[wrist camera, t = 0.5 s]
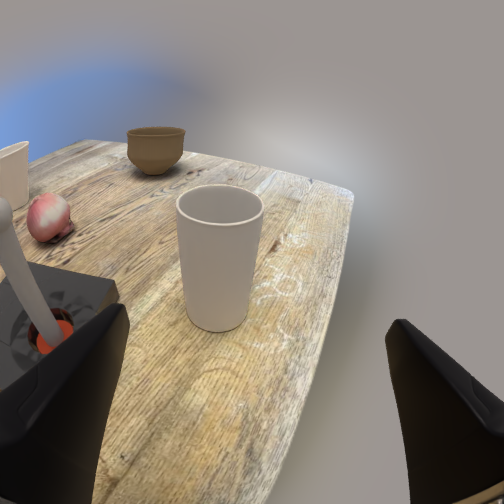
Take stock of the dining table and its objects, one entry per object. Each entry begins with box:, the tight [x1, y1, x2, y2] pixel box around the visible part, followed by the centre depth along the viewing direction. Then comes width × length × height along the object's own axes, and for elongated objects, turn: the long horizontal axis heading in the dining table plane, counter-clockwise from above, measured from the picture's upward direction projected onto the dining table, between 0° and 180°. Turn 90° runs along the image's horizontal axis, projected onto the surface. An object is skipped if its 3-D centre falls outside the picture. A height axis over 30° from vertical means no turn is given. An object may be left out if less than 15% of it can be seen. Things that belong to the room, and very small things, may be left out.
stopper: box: [0, 197, 73, 354], centre depth 16 cm, size 5×5×16 cm
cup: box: [0, 141, 29, 211], centre depth 37 cm, size 12×12×12 cm
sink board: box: [0, 261, 119, 391], centre depth 20 cm, size 16×17×2 cm
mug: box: [176, 184, 265, 332], centre depth 25 cm, size 10×7×12 cm, turn 25°
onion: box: [27, 193, 75, 243], centre depth 32 cm, size 8×8×7 cm
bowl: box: [127, 127, 185, 175], centre depth 53 cm, size 13×13×10 cm
